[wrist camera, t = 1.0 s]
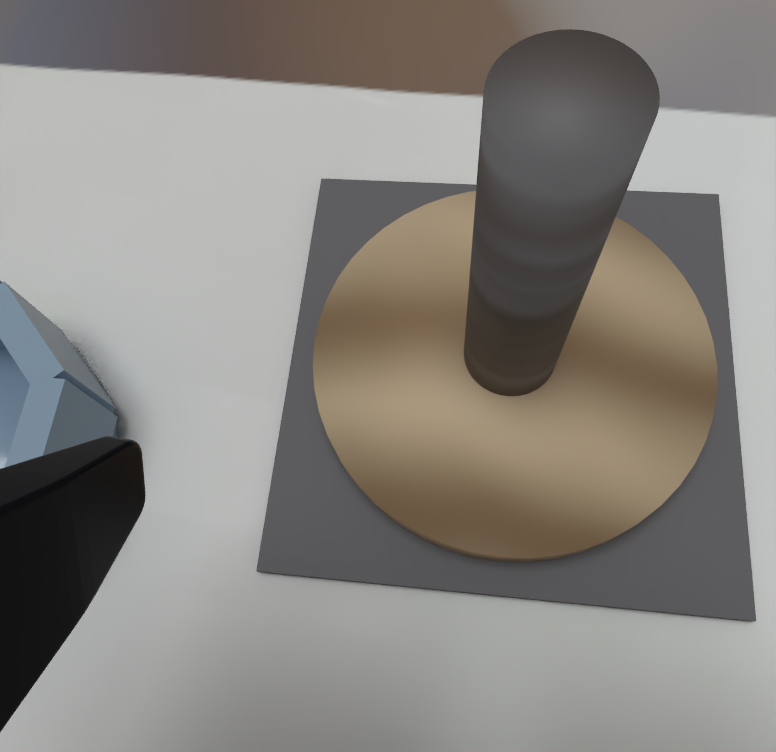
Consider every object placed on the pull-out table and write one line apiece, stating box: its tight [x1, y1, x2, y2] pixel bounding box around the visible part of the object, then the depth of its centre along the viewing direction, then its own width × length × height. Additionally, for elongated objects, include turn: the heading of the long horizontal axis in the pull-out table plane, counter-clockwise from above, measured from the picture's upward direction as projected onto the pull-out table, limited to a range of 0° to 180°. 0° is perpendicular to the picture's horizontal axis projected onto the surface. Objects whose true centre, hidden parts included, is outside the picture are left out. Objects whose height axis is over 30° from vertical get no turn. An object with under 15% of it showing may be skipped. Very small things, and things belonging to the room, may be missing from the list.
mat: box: [257, 179, 756, 621], centre depth 24 cm, size 15×15×1 cm
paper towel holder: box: [313, 30, 717, 562], centre depth 18 cm, size 13×13×12 cm
